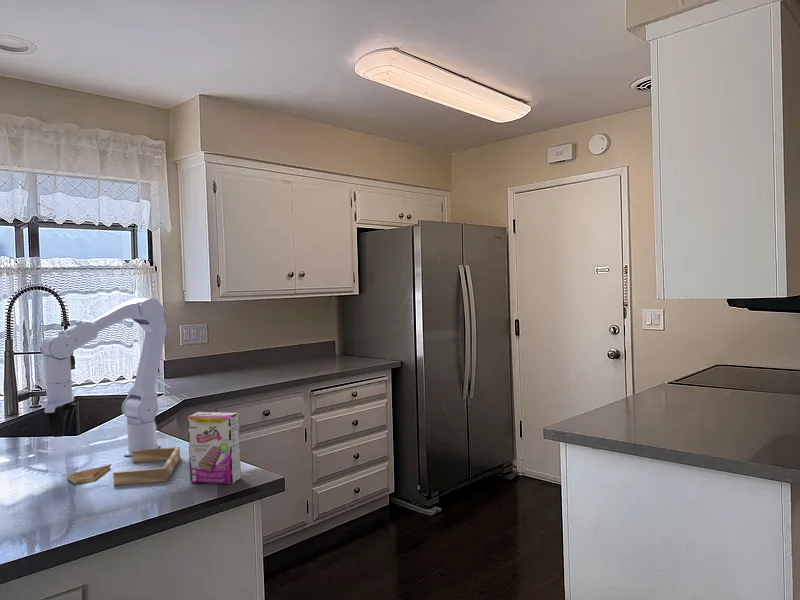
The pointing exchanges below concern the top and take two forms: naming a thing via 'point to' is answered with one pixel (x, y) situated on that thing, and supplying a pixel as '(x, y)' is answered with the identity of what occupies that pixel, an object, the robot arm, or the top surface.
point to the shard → (88, 474)
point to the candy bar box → (214, 447)
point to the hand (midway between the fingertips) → (61, 434)
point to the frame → (149, 474)
